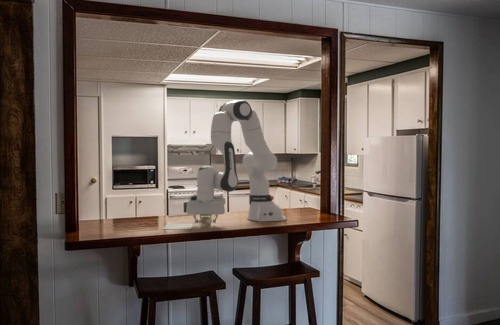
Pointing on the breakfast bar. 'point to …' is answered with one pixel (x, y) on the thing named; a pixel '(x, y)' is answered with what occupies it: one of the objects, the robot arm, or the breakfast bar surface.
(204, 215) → the plant pot
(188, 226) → the sage mat
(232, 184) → the robot arm
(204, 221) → the birch block
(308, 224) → the breakfast bar surface
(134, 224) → the breakfast bar surface
